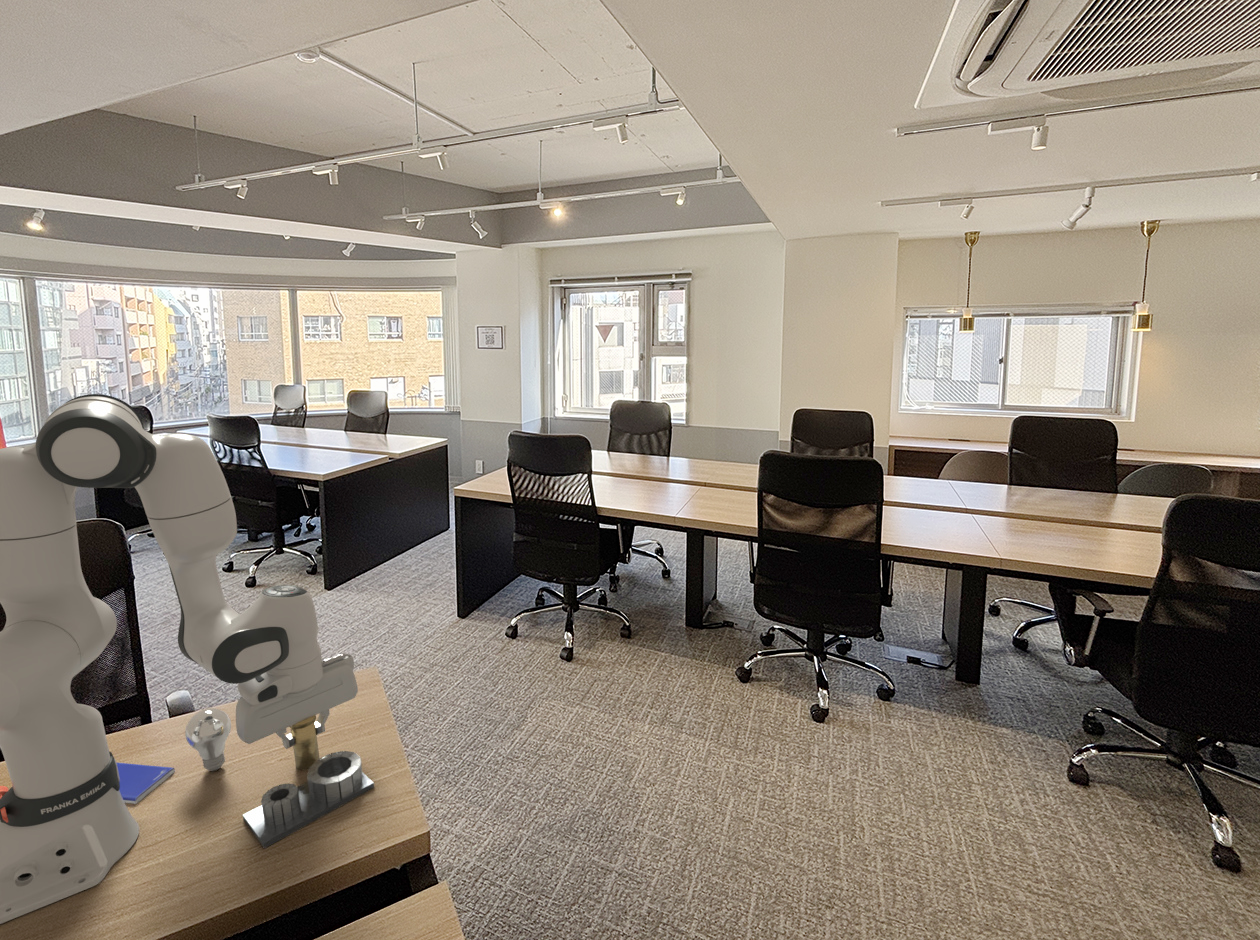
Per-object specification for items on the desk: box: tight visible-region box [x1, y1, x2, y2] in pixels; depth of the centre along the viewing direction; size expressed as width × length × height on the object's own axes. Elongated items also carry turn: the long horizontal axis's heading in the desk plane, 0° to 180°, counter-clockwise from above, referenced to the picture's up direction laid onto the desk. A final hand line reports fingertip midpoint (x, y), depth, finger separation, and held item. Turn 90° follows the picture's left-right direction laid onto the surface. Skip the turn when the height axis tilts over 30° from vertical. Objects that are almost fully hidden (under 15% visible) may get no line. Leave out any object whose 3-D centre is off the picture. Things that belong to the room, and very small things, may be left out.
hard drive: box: [116, 761, 176, 805], centre depth 115 cm, size 2×8×12 cm
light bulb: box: [184, 707, 232, 772], centre depth 117 cm, size 7×7×12 cm
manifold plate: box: [242, 750, 375, 849], centre depth 109 cm, size 18×9×4 cm, turn 138°
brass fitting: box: [289, 715, 321, 771], centre depth 119 cm, size 5×5×10 cm
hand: (304, 738), depth 119 cm, fingers closed on brass fitting, 4 cm apart
